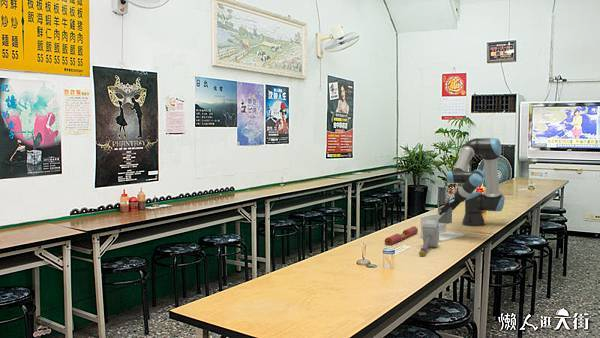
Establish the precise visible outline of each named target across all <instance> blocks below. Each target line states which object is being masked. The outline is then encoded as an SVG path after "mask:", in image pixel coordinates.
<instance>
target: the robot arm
mask: <svg viewBox="0 0 600 338" xmlns="http://www.w3.org/2000/svg"><path fill="white" fill-rule="evenodd" d="M502 148H503V147H502V144H501V141H500V139H499V138H496V137H495V138H494V137H484V138H483V137H481V138H472V139H469V140H467V142H465V143H464V144H463V145H462V146H461V149H460V150H459V156H458V158H457V160H456V163H455V164H454V167H453V169H452V170H448V171H447V172H446V175H445V177H446V181H447V182H448V183H452V184H462V185H461V186H460V187H459V188H458V189H457V190H456V191H455V192H454V194H453V196H454V197H452V198H451V199H449V200H448V201H447V202H446V203H445V204H444V205H442V206H443V207H442V206H441V207H442V208H441V211H440V212H439V213H438V212H437V213H438V214H437V215H436V217H437V218H438V219H440V218H441V217H442V216H443V215H444V213H445V212H446V211H447V210H448V209H449V208H450V207H452V213H453V211H455V209H456V208H457V207H458V206H459V205H460V204H461V203H464V215H463V219H462V225H463V226H469V227H481V226H485V219H484V217H483V211H485V212H502V210H503V208H504V205H505V200H506V199H505V195H503V194H502V193H503V192H502V191H501V190H500V186H499V183H500V182H499V170H498V169H499V168H498V159H499V158H500V156H501V155H502ZM475 156H481V159H482V160H483V166H484V167H483V169H484V172H483V171H482V170H480V169H474V170H473V171H466V170H467V168H468V166H469V164H470V161H471V159H472V158H474V157H475ZM484 179H485V181H484ZM483 181H484V182H485V191H484V193H483V192H482V191H475V190H477V189H478V187H480V186H481V185H482V183H483Z"/></svg>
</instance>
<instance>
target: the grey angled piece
mask: <svg viewBox="0 0 600 338" xmlns="http://www.w3.org/2000/svg"><path fill="white" fill-rule="evenodd" d="M422 229H423V238H422V241H423V243H422V244H423V245H422V247H421V248H420V251H419V253H418V255H419V256H420V257H425V256H426V252H428V251H427V249H428V248H437V247H438V244H439V242H440V241H439V227H438V222H437V221H435V220H426V221H425V222H424V224H423V226H422Z"/></svg>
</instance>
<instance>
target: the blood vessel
mask: <svg viewBox="0 0 600 338" xmlns="http://www.w3.org/2000/svg"><path fill="white" fill-rule="evenodd" d="M418 232H419V230H418V227H417V226H411V227H409V228H406V229H405V230H403V231H402V233H395V234H392V235H390V236H388V237H386V238H385V239H384V244H385V246H393V245H394V244H397V243H399V242H401V241H403V240H405V239H407V238H409V237H411V236H414V235H415V234H417V233H418Z"/></svg>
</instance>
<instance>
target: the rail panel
mask: <svg viewBox="0 0 600 338" xmlns="http://www.w3.org/2000/svg"><path fill="white" fill-rule="evenodd" d="M437 214H438V212H436V213H431V214H426V215H422V216H420V239H423V229H422V226H423V224H424V222H425V221H426V220H435V221H437V222H438V218H437V217H436V215H437ZM438 227H439V242H441V243H442V242H446V241H449V240H453V239H456V238H460V237H464V236H466V233H459V232H453V231H448V230H447V224H445V223H438ZM446 230H447V231H446Z"/></svg>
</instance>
